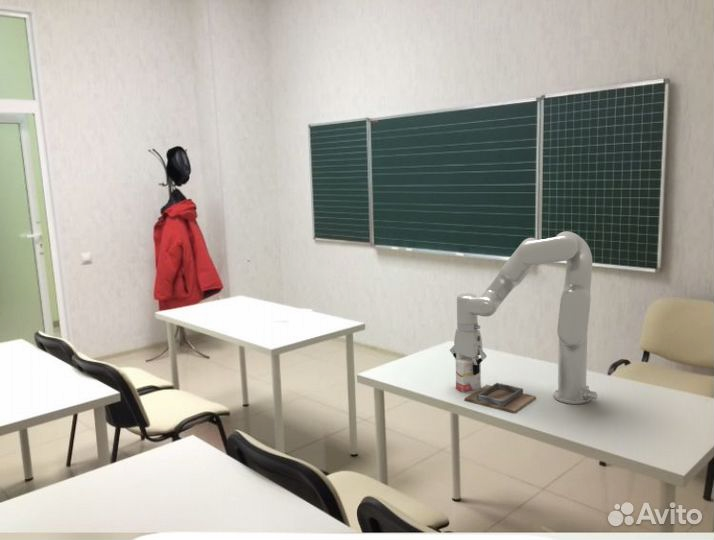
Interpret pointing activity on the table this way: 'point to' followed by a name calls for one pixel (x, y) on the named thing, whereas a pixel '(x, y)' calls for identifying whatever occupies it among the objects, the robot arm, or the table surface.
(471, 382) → the ink cartridge box
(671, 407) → the table surface
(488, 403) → the dock
